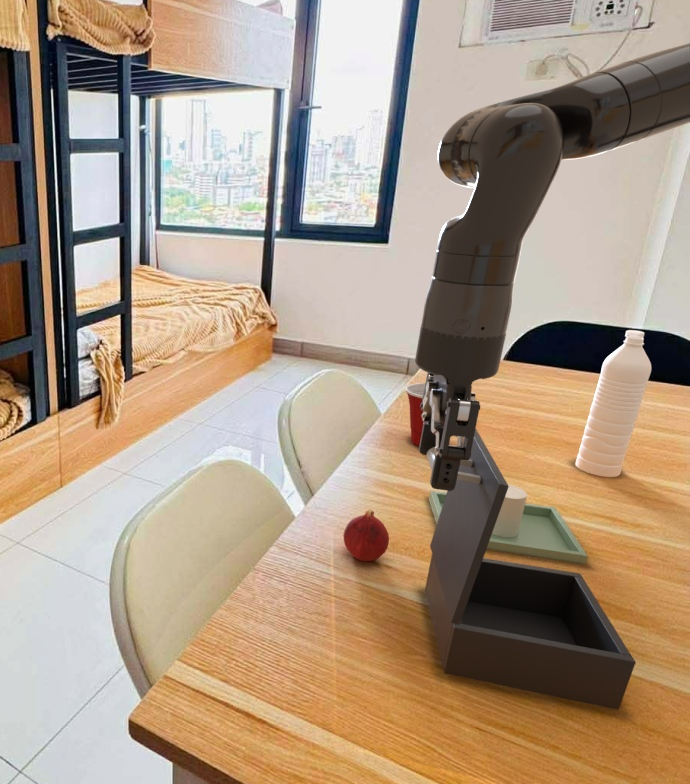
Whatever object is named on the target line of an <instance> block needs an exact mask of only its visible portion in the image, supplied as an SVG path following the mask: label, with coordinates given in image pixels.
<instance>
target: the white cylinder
mask: <svg viewBox="0 0 690 784" xmlns="http://www.w3.org/2000/svg"><path fill="white" fill-rule="evenodd" d="M507 484H508V486H509V487H508V490H507V493H506V496H505V498H504V501H503V504H502V507H501V510H500V512H499V515H498V518H497V521H496V524H495V526H494V529H493V532H492V534H493V535H496V536H500V537H515V536H516V535H517V534H518V530H519V526H520V522H521V518H522V514H523V511H524V507H525V503H526V502H527V499H528V493H527V491H525V490H524V489H523V488H521V487H518V486H517V485H513V484H509V483H507Z"/></svg>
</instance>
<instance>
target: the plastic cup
mask: <svg viewBox="0 0 690 784" xmlns="http://www.w3.org/2000/svg"><path fill="white" fill-rule="evenodd" d="M425 383H426V382H416V383H412V384H408V385H406V386H405V388H404V390H405V393H406V394H407V397H408V403H409V425H410V426H409V427H410V441H411V443H412V444H413V445H414V446H416V447H418V448H419V445H420V440H421V434H422V429H423V423H424V422H425V423H426V421H423V420H422V413H423V411H422V410H421V407H420V405H421V403H422V399H423V393H424V388H425ZM442 424H444V423H442Z"/></svg>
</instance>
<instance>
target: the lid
mask: <svg viewBox="0 0 690 784" xmlns="http://www.w3.org/2000/svg"><path fill="white" fill-rule="evenodd" d="M434 458H435V447H433V448H431V449H429V450H428V452H427V455H426V459H427V462H428V465H429V468H430V470H431V472H432V469H433V463H434ZM508 484H509V483H508V481H507V480H506V478H505V477H504V475H503V474H502V472H501V470H500V468H499V467H498V465H497V463H496V461H495V460H494V458H493V456H492V454H491V453H490V450H489V449H488V447H487V446H486V444H485V442H484V440H483V438H482V437H481V435H480V433H479V431H478V430H477V428H476V429H475V434H474V439H473V444H472V449H471V457H470V459H469V460H461V461H460V466H459V471H458V476H457V480H456V485H455V489H454V490H452V491H447V490H446V493H447V494H446V497H445V500H444V503H443V507H442V510H441V513H440V516H439V519H438V522H437V524H436V526H435V529H434V531H433V535H432V539H431V542H430V544H429V545H430V546H429V547H430V550H431V556H432V555H433V558H434V562H435V565H436V569H437V573H438V576H439V580H440V584H441V587H442V591H443V595H444V598H445V602H446V605H447V609H448V613H449V616H450V620H451V623H454V624H457V625H459V624H460V622H461V619H462V616H463V613H464V610H465V608H466V605H467V602H468V599H469V596H470V594H471V591H472V588H473V585H474V582H475V580H476V577H477V574H478V571H479V568H480V566H481V563H482V560H483V558H484V557H485V554H486V551H487V550H488V549H487V546H488V543H489V540H490V538H491V535H492V532H493V529H494V526H495V524H496V521H497V518H498V515H499V512H500V510H501V507H502V504H503V501H504V498H505V496H506V493H507V490H508V487H509V486H508Z"/></svg>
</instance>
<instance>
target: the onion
mask: <svg viewBox="0 0 690 784" xmlns="http://www.w3.org/2000/svg"><path fill="white" fill-rule="evenodd" d="M342 535H343V543H344V546H345V548H346V550H347V551H348V553H350V555H351V556H353V558H355V559H356V560H359V561H361V562H371V561H375V560H378V559H379V558H380V557H382V556H383V555H384V554H385V553H386V552H387V550H388V547H389V545H390V544H389V543H390V536H389V535H390V534H389V532H388V530H387V527H386V525H385V524H384V523H383V522H382V521H381V520H380V519H379V518H378V517H376V516H375V511H374V510H373V509H368V510H366V511H365V513H364V514H363V515H359V516H356V517H354V518H352V519H351V520H350V521H349V522H348V523H347V525H346V526H345V529H344V531H343V534H342Z"/></svg>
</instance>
